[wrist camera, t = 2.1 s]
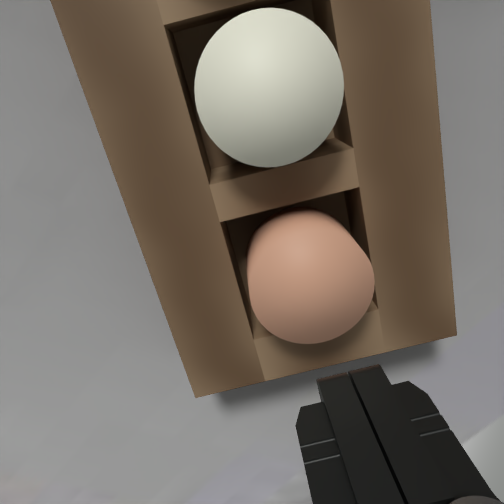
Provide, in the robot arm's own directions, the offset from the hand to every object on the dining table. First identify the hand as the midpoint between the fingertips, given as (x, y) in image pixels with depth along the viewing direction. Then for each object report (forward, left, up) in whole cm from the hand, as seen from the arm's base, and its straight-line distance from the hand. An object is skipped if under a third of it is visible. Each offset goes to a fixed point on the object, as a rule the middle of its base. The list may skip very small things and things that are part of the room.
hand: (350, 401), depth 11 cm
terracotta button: (0, 0, -9) cm, 9 cm away
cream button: (0, -7, -9) cm, 11 cm away
